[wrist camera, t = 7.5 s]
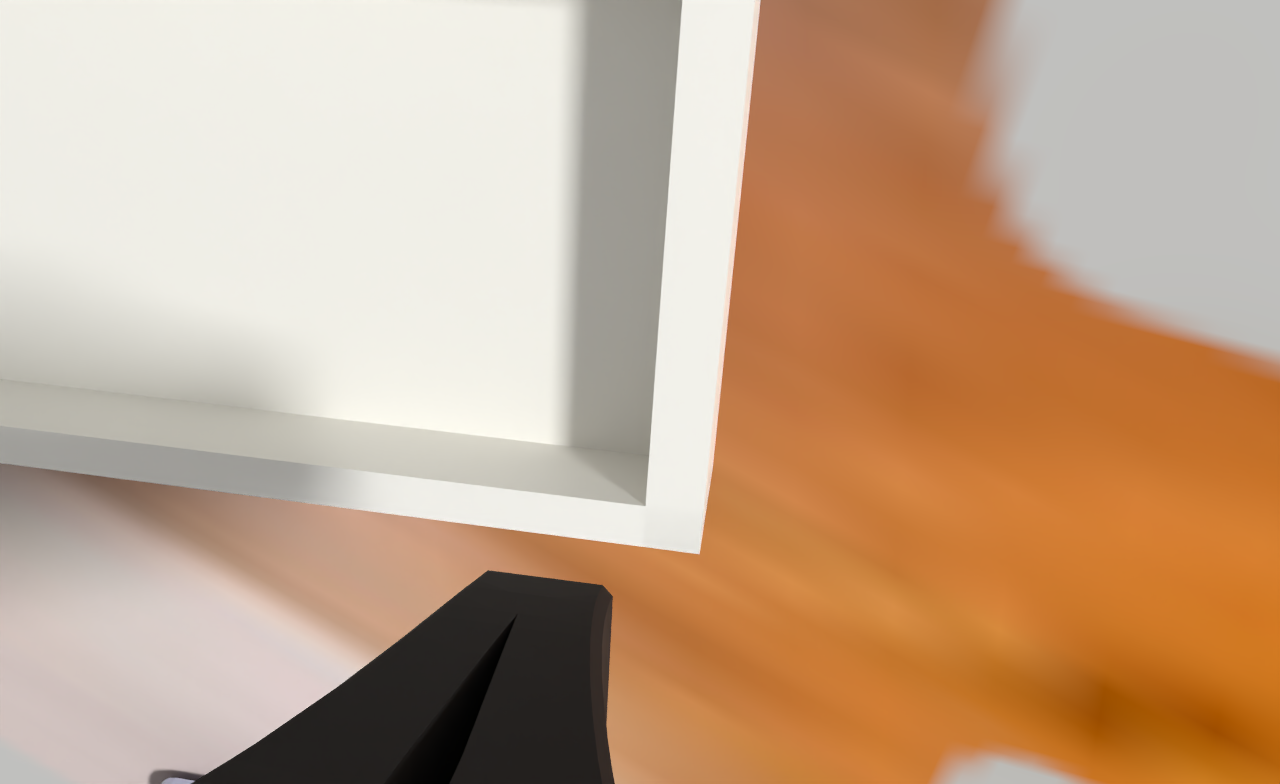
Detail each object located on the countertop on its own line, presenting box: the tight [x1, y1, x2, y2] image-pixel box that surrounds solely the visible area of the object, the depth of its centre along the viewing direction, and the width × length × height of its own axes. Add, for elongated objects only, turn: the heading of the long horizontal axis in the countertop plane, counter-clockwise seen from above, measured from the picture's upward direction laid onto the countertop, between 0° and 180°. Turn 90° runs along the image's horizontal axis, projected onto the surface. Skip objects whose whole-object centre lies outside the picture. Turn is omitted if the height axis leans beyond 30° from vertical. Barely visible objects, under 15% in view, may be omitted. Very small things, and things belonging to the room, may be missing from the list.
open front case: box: [0, 0, 761, 554], centre depth 16 cm, size 10×17×4 cm, turn 86°
